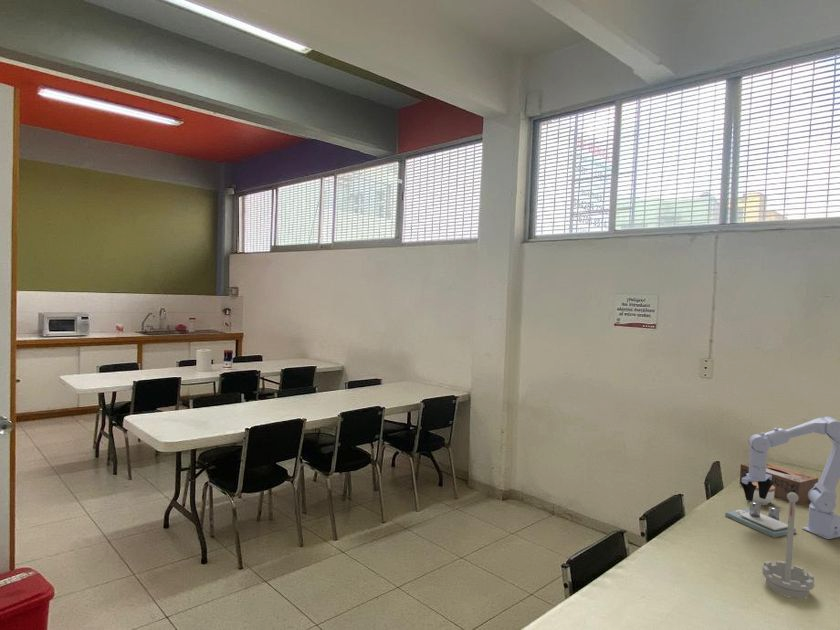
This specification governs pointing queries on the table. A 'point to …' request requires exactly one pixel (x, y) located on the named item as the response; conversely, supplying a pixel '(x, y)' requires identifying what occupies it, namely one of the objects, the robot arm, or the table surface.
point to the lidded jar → (768, 498)
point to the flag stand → (788, 565)
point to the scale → (759, 522)
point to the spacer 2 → (774, 513)
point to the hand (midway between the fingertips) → (755, 499)
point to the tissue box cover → (786, 481)
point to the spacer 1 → (754, 509)
